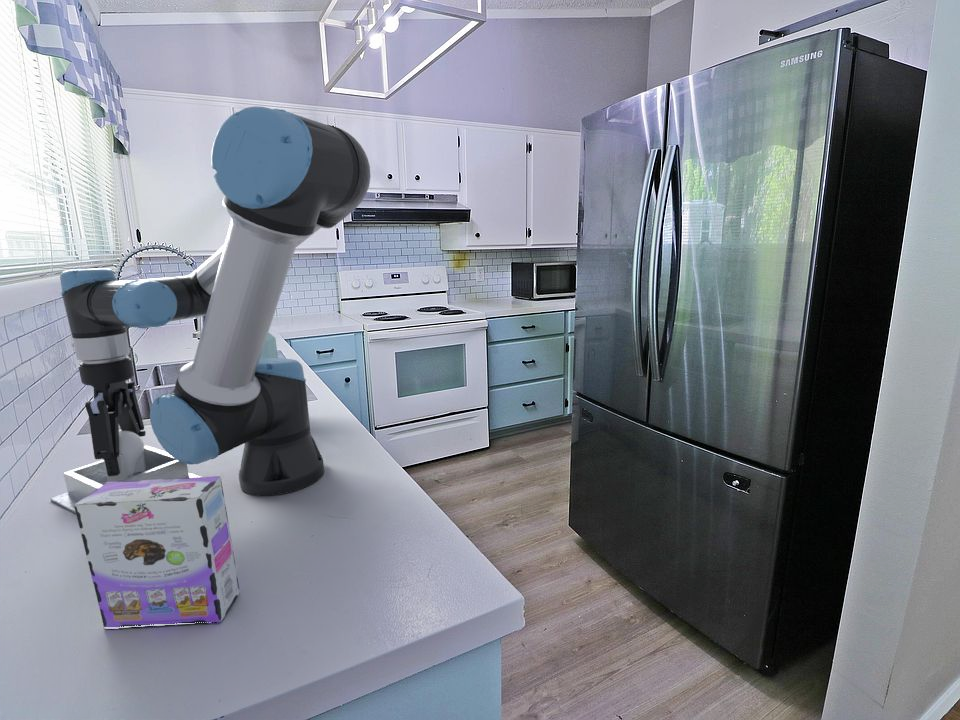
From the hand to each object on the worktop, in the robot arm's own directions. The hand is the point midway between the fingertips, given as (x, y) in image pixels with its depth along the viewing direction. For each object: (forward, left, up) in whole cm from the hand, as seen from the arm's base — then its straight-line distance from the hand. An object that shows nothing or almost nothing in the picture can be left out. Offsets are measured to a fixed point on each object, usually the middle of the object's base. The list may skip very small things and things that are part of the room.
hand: (129, 480), depth 94 cm
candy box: (-40, +14, -2) cm, 42 cm away
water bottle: (+10, -36, -2) cm, 37 cm away
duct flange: (0, 0, -2) cm, 2 cm away
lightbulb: (-2, +2, -1) cm, 3 cm away
